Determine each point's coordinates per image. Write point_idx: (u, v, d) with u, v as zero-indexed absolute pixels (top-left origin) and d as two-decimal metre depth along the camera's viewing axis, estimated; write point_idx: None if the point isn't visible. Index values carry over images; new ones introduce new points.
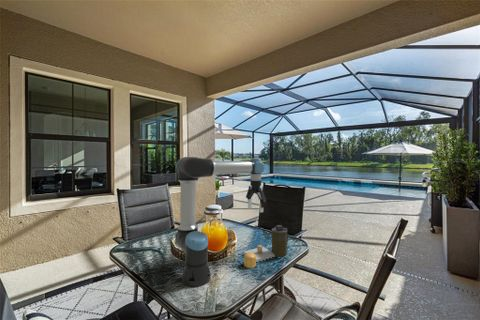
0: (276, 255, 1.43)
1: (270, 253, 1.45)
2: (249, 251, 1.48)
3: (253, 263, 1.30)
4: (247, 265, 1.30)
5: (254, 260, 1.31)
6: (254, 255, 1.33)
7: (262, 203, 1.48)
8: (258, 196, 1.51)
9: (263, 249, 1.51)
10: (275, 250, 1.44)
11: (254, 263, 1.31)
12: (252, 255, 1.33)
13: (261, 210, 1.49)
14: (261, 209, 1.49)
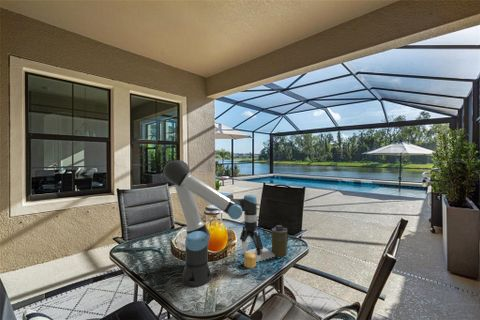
0: (276, 255, 1.43)
1: (270, 253, 1.45)
2: (249, 251, 1.48)
3: (253, 263, 1.30)
4: (247, 265, 1.30)
5: (254, 260, 1.31)
6: (254, 255, 1.33)
7: (258, 250, 1.26)
8: (253, 241, 1.28)
9: (263, 249, 1.51)
10: (275, 250, 1.44)
11: (254, 263, 1.31)
12: (252, 255, 1.33)
13: (257, 258, 1.27)
14: (257, 257, 1.27)
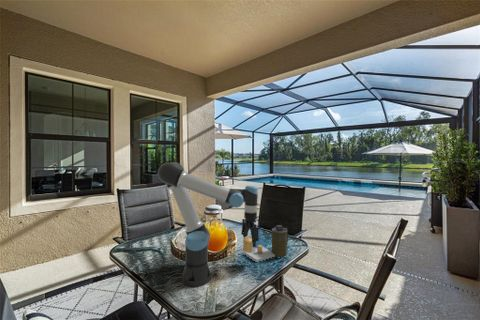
0: (276, 255, 1.43)
1: (270, 253, 1.45)
2: None
3: None
4: (246, 250, 1.30)
5: None
6: None
7: (254, 242, 1.28)
8: (251, 232, 1.30)
9: (263, 249, 1.51)
10: (275, 250, 1.44)
11: None
12: None
13: (252, 250, 1.29)
14: (252, 249, 1.29)
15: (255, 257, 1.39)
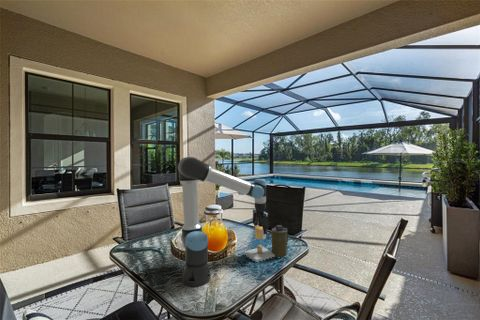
0: (276, 255, 1.43)
1: (270, 253, 1.45)
2: (249, 251, 1.48)
3: None
4: (258, 237, 1.43)
5: None
6: None
7: (264, 229, 1.41)
8: (261, 221, 1.43)
9: (263, 249, 1.51)
10: (275, 250, 1.44)
11: None
12: (262, 228, 1.46)
13: (263, 237, 1.42)
14: (263, 236, 1.42)
15: (255, 257, 1.39)
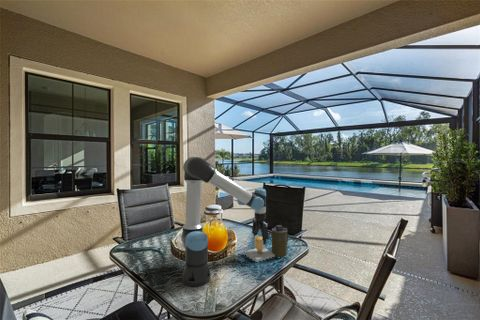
0: (276, 255, 1.43)
1: (270, 253, 1.45)
2: (249, 251, 1.48)
3: None
4: (257, 247, 1.43)
5: None
6: None
7: (264, 240, 1.41)
8: (261, 231, 1.43)
9: (263, 249, 1.51)
10: (275, 250, 1.44)
11: None
12: (262, 238, 1.46)
13: (263, 247, 1.42)
14: (263, 246, 1.42)
15: (255, 257, 1.39)
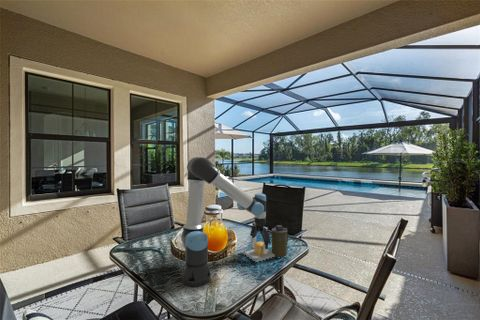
0: (276, 255, 1.43)
1: (270, 253, 1.45)
2: (249, 251, 1.48)
3: (263, 250, 1.43)
4: (257, 252, 1.43)
5: None
6: (263, 243, 1.46)
7: (266, 244, 1.39)
8: (262, 236, 1.42)
9: None
10: (275, 250, 1.44)
11: None
12: (262, 243, 1.46)
13: (265, 251, 1.41)
14: (265, 250, 1.41)
15: (255, 257, 1.39)
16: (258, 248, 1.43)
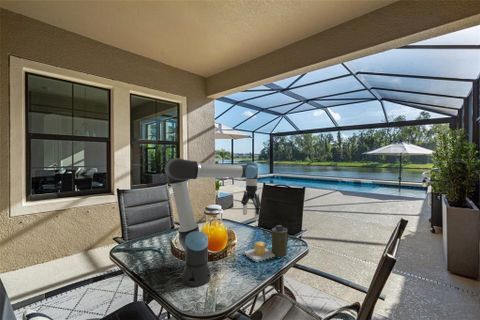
0: (276, 255, 1.43)
1: (270, 253, 1.45)
2: (249, 251, 1.48)
3: (263, 250, 1.43)
4: (257, 252, 1.43)
5: (264, 248, 1.44)
6: (263, 243, 1.46)
7: (257, 210, 1.39)
8: (253, 202, 1.42)
9: None
10: (275, 250, 1.44)
11: (264, 250, 1.44)
12: (262, 243, 1.46)
13: (256, 217, 1.41)
14: (256, 216, 1.41)
15: (255, 257, 1.39)
16: (258, 248, 1.43)
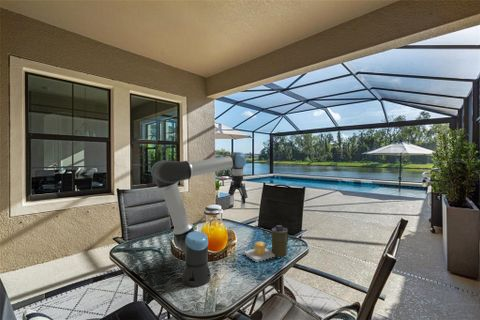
0: (276, 255, 1.43)
1: (270, 253, 1.45)
2: (249, 251, 1.48)
3: (263, 250, 1.43)
4: (257, 252, 1.43)
5: (264, 248, 1.44)
6: (263, 243, 1.46)
7: (243, 199, 1.42)
8: None
9: None
10: (275, 250, 1.44)
11: (264, 250, 1.44)
12: (262, 243, 1.46)
13: (242, 206, 1.43)
14: (242, 205, 1.43)
15: (255, 257, 1.39)
16: (258, 248, 1.43)
